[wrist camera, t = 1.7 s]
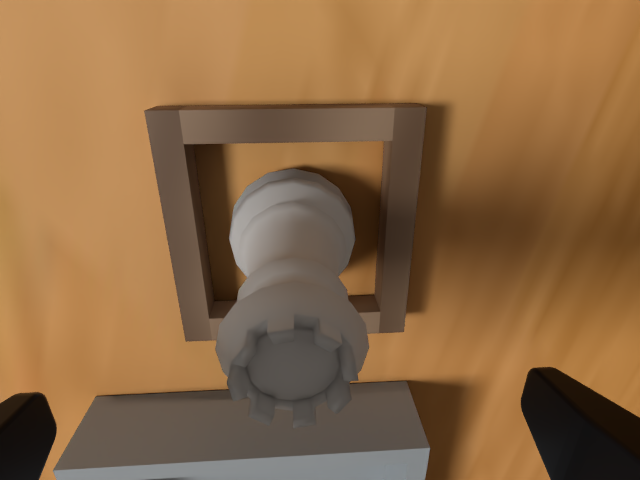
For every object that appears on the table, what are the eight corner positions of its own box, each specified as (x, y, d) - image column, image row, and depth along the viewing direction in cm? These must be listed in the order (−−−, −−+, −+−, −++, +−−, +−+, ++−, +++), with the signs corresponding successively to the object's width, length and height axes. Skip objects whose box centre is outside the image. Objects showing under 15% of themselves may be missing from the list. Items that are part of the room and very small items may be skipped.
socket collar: (416, 103, 13) (426, 107, 12) (396, 314, 17) (403, 331, 16) (156, 106, 13) (144, 110, 12) (192, 322, 16) (185, 341, 15)
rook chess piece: (292, 295, 16) (292, 489, 9) (206, 222, 15) (123, 384, 7) (376, 224, 15) (453, 378, 8) (293, 138, 14) (295, 230, 6)
